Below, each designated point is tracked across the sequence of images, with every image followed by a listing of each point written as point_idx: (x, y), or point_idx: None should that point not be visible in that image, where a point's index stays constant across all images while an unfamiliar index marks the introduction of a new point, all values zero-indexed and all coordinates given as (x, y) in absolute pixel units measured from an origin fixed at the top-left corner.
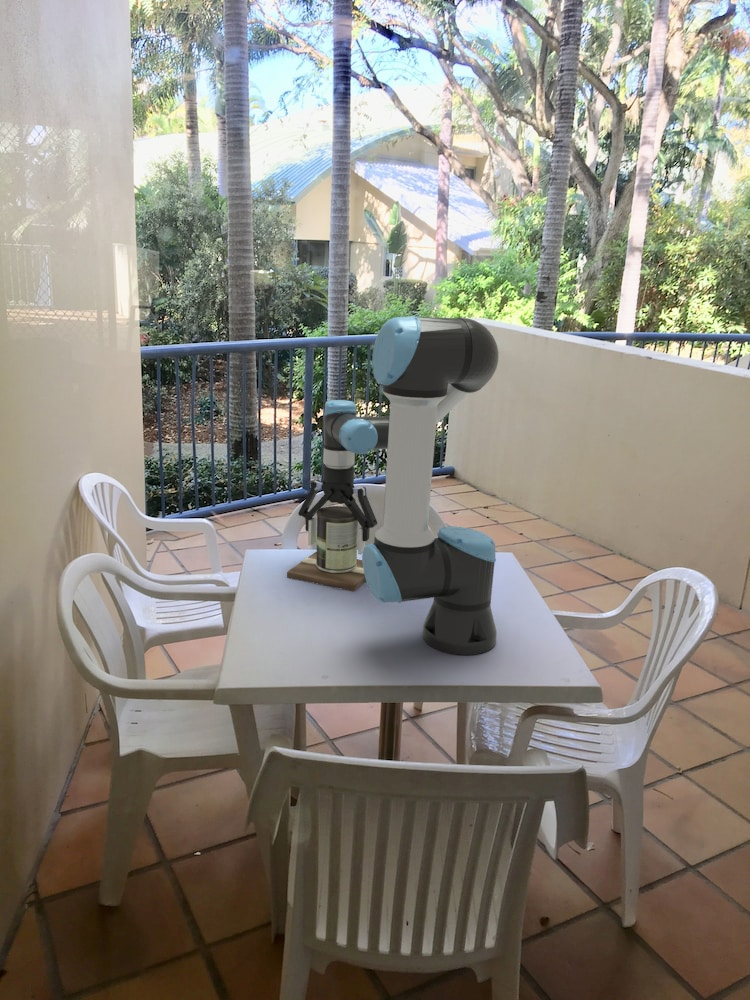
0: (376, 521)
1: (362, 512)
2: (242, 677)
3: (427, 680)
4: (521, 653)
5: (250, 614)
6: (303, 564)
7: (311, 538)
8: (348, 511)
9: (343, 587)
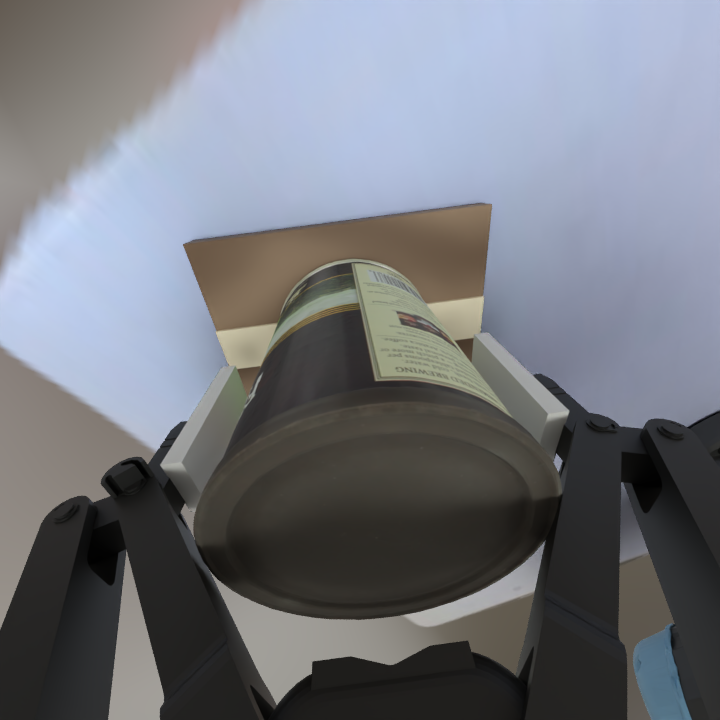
0: (696, 446)
1: (618, 510)
2: (430, 618)
3: (646, 548)
4: None
5: None
6: (254, 380)
7: None
8: (448, 482)
9: None
